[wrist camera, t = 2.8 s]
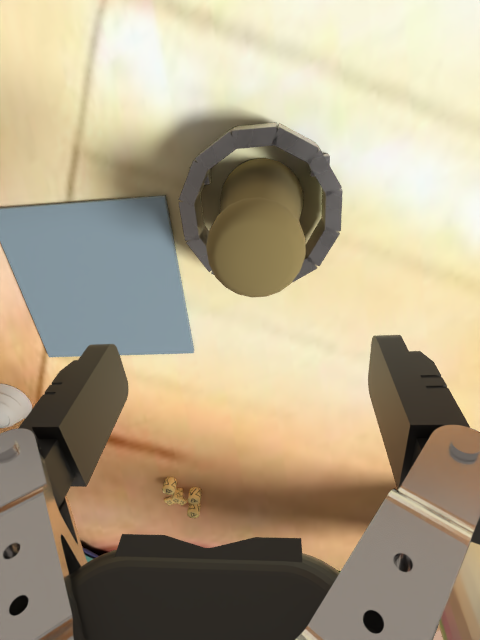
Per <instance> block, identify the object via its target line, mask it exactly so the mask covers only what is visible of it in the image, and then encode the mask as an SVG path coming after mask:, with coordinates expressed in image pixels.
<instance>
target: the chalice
mask: <svg viewBox="0 0 480 640" xmlns="http://www.w3.org/2000/svg"><path fill="white" fill-rule="evenodd" d="M31 410H32V404H31V402H30V400H29V399H28V397H27V396H26V395H25V394H24V393H23V392H21V391H20V390H18V389H17V388H14V387H12V386H10V385H6V384H0V428H6V427H10V426H13V425H14V424H15V423H18V422H19V421H21V420H22V419H24V418H26V417H27V416H28V415H29V413H30V412H31Z"/></svg>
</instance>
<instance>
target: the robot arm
mask: <svg viewBox="0 0 480 640" xmlns="http://www.w3.org/2000/svg"><path fill="white" fill-rule="evenodd" d="M368 386H369V394H370V398H371V401H372V405H373V408H374V411H375V415H376V418H377V421H378V425H379V428H380V432H381V435H382V438H383V442H384V445H385V448H386V452H387V455H388V458H389V462H390V465H391V468H392V472H393V475H394V479H395V482H396V485H397V489H398V490H396V489H392V490H391V491H390V492H389V494H388V495H387V497H386V498H385V500H384V501H383V503H382V505H381V506H380V508H379V510H378V511H377V513H376V514H375V516H374V518H373V519H372V521H371V523H370V524H369V526H368V528H367V529H366V531H365V532H364V534H363V536H362V537H361V539H360V541H359V542H358V544H357V546H356V547H355V549H354V551H353V552H352V554H351V555H350V557H349V559H348V560H347V562H346V564H345V565H344V567H343V569H342V570H341V572H339V571H337V570H336V569H335V568H333V567H332V566H330V565H328V564H327V563H325V562H323V561H321V560H319V559H317V558H315V557H312V556H309V555H306V554H303V553H302V545H301V538H261V537H255V538H251V539H247V540H242V541H238V542H234V543H230V544H226V545H222V546H218V547H213V548H203V547H200V546H197V545H194V544H191V543H187V542H184V541H181V540H178V539H175V538H172V537H168V536H165V535H133V534H122V536H121V539H120V542H119V545H118V548H117V550H114V551H111V552H108V553H105V554H103V555H101V556H99V557H96V558H94V559H92V560H91V561H89V562H87V560H86V557H85V555H84V552H83V548H82V545H81V541H80V538H79V535H78V531H77V528H76V524H75V521H74V518H73V514H72V511H71V507H70V504H69V501H68V499H67V497H66V494H67V492H68V490H69V488H70V486H87V484H88V482H89V480H90V478H91V476H92V474H93V471H94V469H95V467H96V465H97V463H98V461H99V458H100V456H101V454H102V452H103V450H104V448H105V445H106V443H107V441H108V439H109V437H110V435H111V432H112V430H113V428H114V426H115V424H116V422H117V419H118V417H119V415H120V413H121V411H122V409H123V406H124V404H125V402H126V400H127V396H128V381H127V378H126V374H125V371H124V368H123V365H122V361H121V358H120V355H119V352H118V349H117V347H116V346H115V345H114V344H94V345H89V346H88V347H87V348H86V350H85V351H84V352H83V354H82V355H81V357H80V358H79V360H74V361H73V362H71V363H70V364H69V365H68V366H66V367H65V368H64V369H62V370H61V371H60V372H59V374H58V375H57V376H56V378H55V379H54V380H53V382H52V385H50V386H49V387H48V389H47V390H46V391H45V395H42V397H41V398H40V400H39V401H38V402H37V404H36V405H35V406H34V408H33V409H32V410H31V412H30V413H29V415H28V416H27V417H26V419H25V420H24V421H23V423H22V424H21V425H20V427H19V428H18V429H13V430H9V431H6V432H3V433H1V434H0V640H433V638H434V635H435V633H436V630H437V628H438V625H439V627H440V630H441V633H442V637H443V640H480V432H479V431H476V430H474V429H472V428H470V426H469V425H468V423H467V421H466V419H465V417H464V416H463V414H462V412H461V410H460V408H459V407H458V405H457V403H456V401H455V399H454V398H453V396H452V394H451V392H450V390H449V389H448V388H447V385H446V383H445V381H444V380H443V378H442V377H441V374H440V373H439V371H438V369H437V367H436V365H435V364H434V362H433V361H432V360H430V359H429V358H428V357H427V356H425V355H424V354H423V353H422V352H420V351H412V352H409V351H408V349H407V347H406V345H405V343H404V341H403V339H402V337H401V336H400V335H383V336H373V338H372V344H371V354H370V364H369V374H368Z"/></svg>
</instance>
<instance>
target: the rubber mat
mask: <svg viewBox="0 0 480 640" xmlns="http://www.w3.org/2000/svg"><path fill="white" fill-rule="evenodd" d="M0 242H1V244H2V247H3V249H4V252H5V254H6V256H7V259H8V261H9V263H10V266H11V268H12V270H13V273H14V275H15V278H16V280H17V282H18V285H19V287H20V289H21V292H22V294H23V297H24V299H25V301H26V304H27V306H28V308H29V311H30V313H31V315H32V318H33V320H34V323H35V325H36V327H37V330H38V332H39V334H40V337H41V339H42V341H43V344H44V346H45V349H46V351H47V353H48V356H49V357H71V356H81V355H82V354H83V352H84V351H85V350H86V348H87V347H88V346H89V345H94V344H114V345H115V346H116V347H117V349H118V352H119V355H144V354H180V353H194V346H193V341H192V336H191V330H190V325H189V319H188V314H187V309H186V303H185V298H184V292H183V287H182V282H181V276H180V271H179V265H178V260H177V255H176V249H175V244H174V239H173V233H172V228H171V222H170V217H169V212H168V206H167V201H166V195H165V196H152V197H138V198H125V199H112V200H99V201H85V202H72V203H59V204H46V205H32V206H19V207H6V208H0Z"/></svg>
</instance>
